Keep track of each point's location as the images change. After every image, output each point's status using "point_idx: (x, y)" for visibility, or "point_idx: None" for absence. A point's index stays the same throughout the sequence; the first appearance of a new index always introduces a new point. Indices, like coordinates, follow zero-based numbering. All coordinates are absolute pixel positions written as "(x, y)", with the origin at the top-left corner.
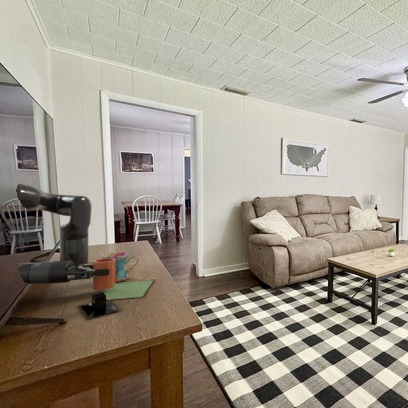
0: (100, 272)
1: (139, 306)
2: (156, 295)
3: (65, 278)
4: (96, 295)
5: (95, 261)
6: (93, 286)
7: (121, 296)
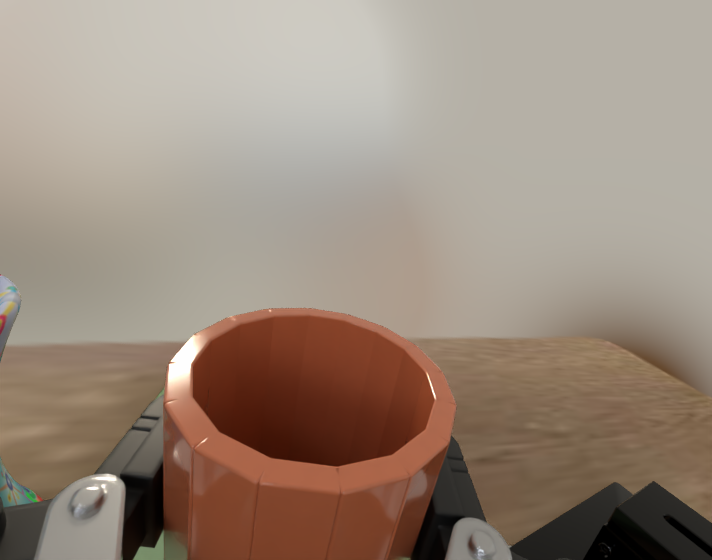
0: (465, 484)
1: (534, 422)
2: None
3: None
4: (687, 537)
5: (310, 473)
6: None
7: None
